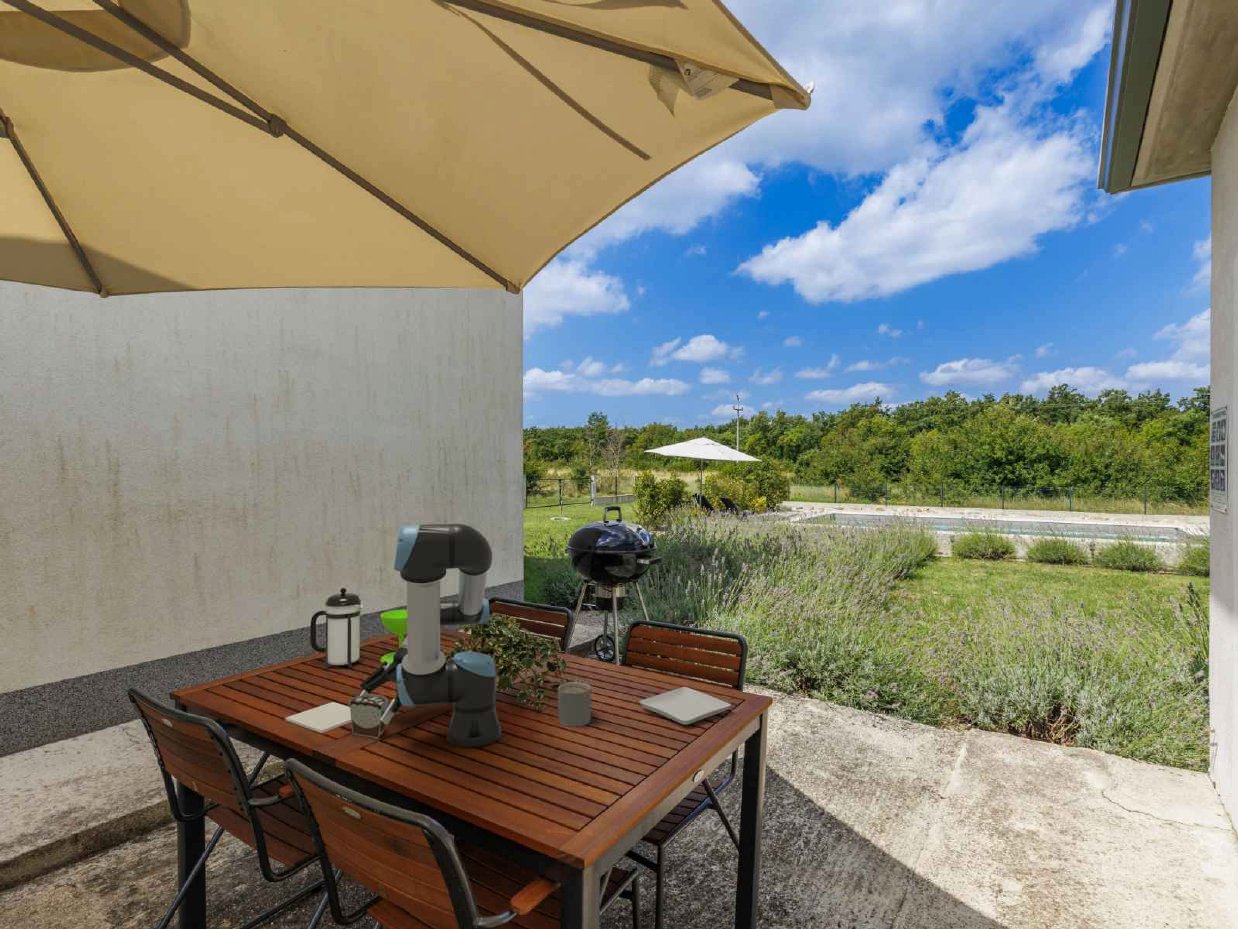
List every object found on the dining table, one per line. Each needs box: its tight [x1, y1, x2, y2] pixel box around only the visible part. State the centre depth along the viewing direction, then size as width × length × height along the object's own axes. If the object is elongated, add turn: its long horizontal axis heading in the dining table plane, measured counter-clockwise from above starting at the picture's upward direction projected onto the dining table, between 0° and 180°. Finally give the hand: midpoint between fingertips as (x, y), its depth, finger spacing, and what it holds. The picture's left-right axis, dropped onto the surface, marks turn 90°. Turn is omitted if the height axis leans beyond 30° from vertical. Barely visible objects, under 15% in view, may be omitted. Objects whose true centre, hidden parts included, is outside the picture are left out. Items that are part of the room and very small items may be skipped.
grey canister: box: [557, 681, 592, 728], centre depth 200 cm, size 13×10×10 cm
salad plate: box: [639, 686, 732, 726], centre depth 206 cm, size 21×21×3 cm
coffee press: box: [309, 587, 364, 670], centre depth 254 cm, size 17×16×30 cm
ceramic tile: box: [284, 701, 351, 734], centre depth 200 cm, size 18×16×1 cm
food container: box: [347, 693, 389, 739], centre depth 189 cm, size 12×6×10 cm, turn 71°
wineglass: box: [380, 609, 407, 664], centre depth 263 cm, size 16×16×18 cm
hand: (368, 717), depth 188 cm, fingers open, 13 cm apart
